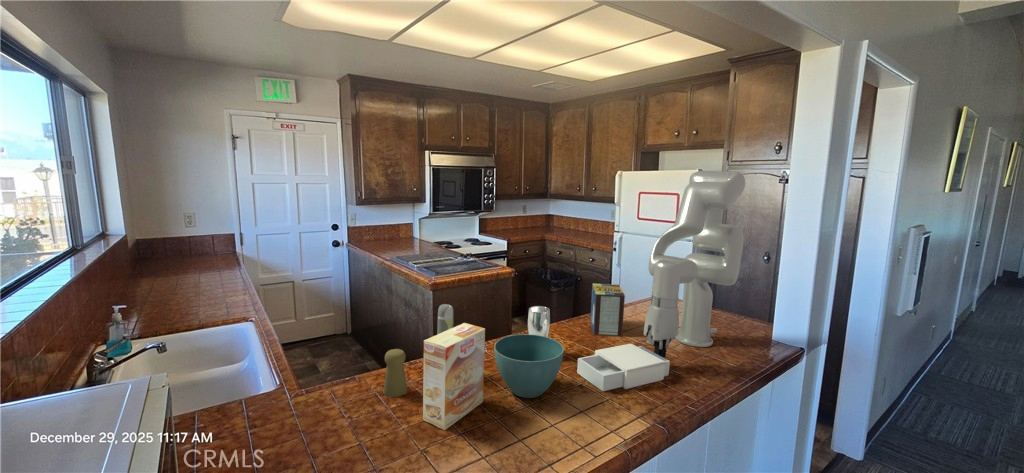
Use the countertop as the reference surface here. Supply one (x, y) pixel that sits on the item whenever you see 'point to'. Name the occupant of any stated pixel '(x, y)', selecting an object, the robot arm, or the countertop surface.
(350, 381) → the countertop surface
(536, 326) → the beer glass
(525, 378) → the teal bowl
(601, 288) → the protein box
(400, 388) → the olive green pepper shaker
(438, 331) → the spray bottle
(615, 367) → the white sliding drawer box
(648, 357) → the sleeve
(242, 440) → the countertop surface
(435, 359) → the coffeecake box
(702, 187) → the robot arm
